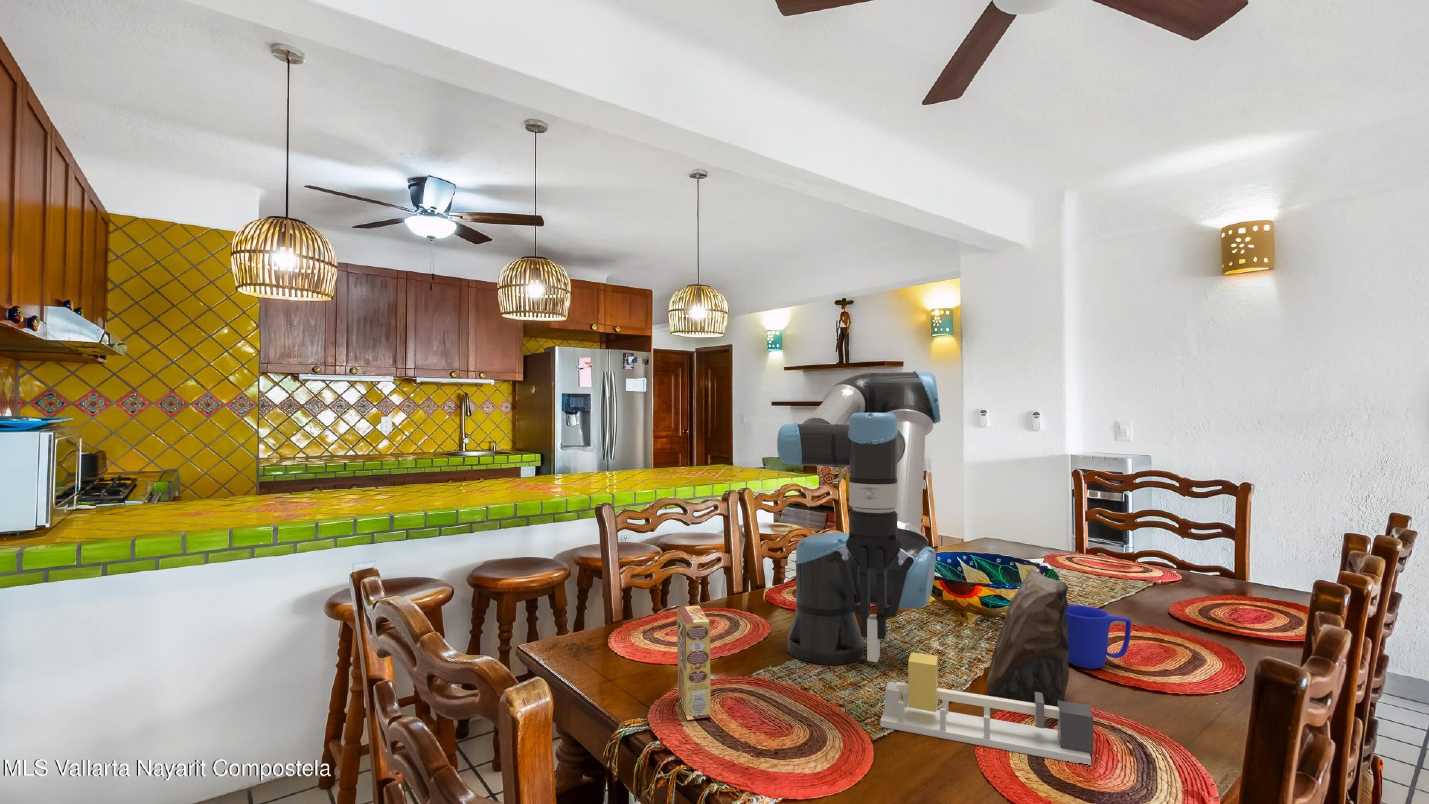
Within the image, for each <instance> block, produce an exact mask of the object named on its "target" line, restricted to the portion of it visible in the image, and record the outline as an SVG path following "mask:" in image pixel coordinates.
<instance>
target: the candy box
mask: <svg viewBox="0 0 1429 804" xmlns="http://www.w3.org/2000/svg"><path fill="white" fill-rule="evenodd" d="M710 630H711V623H710V620H709V618H708V617H707V616H706V614H705V612H704V611H703V609H702V608H701V607H700V605H691V606H690V605H689V606H680V607H679V606H678V607H677V608H676V634H677V635H676V637H677V643H676V644H677V645H676V647H677V652H676V653H677V654H676V655H677V695H679V698H680V700H681V703H682V706H683V709H684V711H685V714H686V716H697V715H705V714H706V715H707V714H711V715H712V705H711V703H712V701H711V700H712V699H711V698H712V697H711V694H712V692H711V688H712V687H711V684H712V683H711V631H710ZM679 698H678V699H679ZM683 709H682V710H683Z"/></svg>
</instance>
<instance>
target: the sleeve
mask: <svg viewBox="0 0 1429 804" xmlns="http://www.w3.org/2000/svg"><path fill="white" fill-rule="evenodd" d="M907 664H908V665H907V667H908V672H907V673H908V677H907V679H908V682H907V683H908V685H909V694H908V705H909V708H915V709H921V710H926V711H932V712H936V711H937V710H938V704H939V699H937V688H939V656H938V655H934V654H926V653H925V654H924V653H918V652H911V653H910V655H909V658H908V663H907Z"/></svg>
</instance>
